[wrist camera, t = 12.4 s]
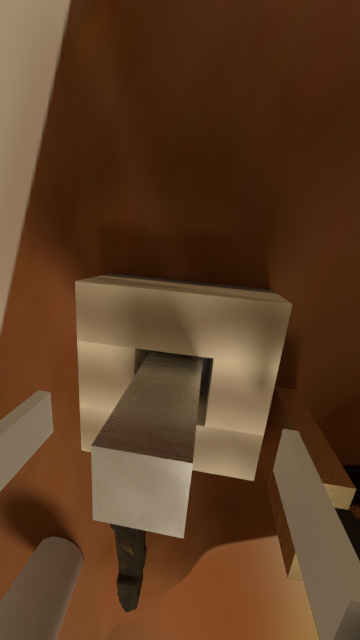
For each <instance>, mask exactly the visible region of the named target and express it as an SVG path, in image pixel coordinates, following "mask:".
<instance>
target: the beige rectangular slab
mask: <svg viewBox="0 0 360 640" xmlns="http://www.w3.org/2000/svg"><path fill="white" fill-rule="evenodd" d="M283 429H288V430H294V431H298V432H299V434H300V436H301V438H302V441H303V443H304V445H305V447H306V449H307V451H308V453H309V455H310V457H311V460H312V462H313V464H314V466H315V468H316V470H317V472H318V474H319V476H320V479H321V481H322V483H323V485H324V487H325V489H326V491H327V493H328V495H329V498H330V500H331V502H332V504H333V506H334V507H335V508H340V509H346V510H349V507H350V504H351V502H352V499H353V496H354V494H355V491H356V488H355V486H354V484H353V483H352V481H351V479H350V478H349V476H348V474H347V473H346V471H345V469H344V468H343V466H342V464H341V463H340V461H339V460H338V458H337V456H336V455H335V453H334V451H333V450H332V448H331V446H330V445H329V443H328V441H327V440H326V438H325V436H324V435H323V433H322V431H321V430H320V428H319V426H318V425H317V423H316V421H315V420H314V418H313V416H312V415H311V413H310V411H309V410H308V408H307V406H306V405H305V403H304V401H303V400H302V398H301V396H300V395H299V393H298V391H297V390H296V389H291V388H284V387H277V386H274V391H273V395H272V400H271V405H270V409H269V414H268V418H267V423H266V427H265V432H264V437H263V441H262V446H261V450H260V460H261V464H262V468H263V473H264V477H265V481H266V486H267V490H268V494H269V499H270V503H271V508H272V512H273V516H274V521H275V525H276V529H277V534H278V538H279V542H280V547H281V551H282V555H283V559H284V564H285V568H286V573H287V577H288V578H291V579H296V580H300V581H303V577H302V573H301V570H300V566H299V563H298V559H297V555H296V552H295V548H294V544H293V541H292V537H291V533H290V530H289V526H288V522H287V519H286V515H285V512H284V508H283V504H282V501H281V497H280V493H279V490H278V486H277V482H276V479H275V475H274V471H273V468H274V464H275V460H276V456H277V452H278V447H279V443H280V439H281V435H282V431H283Z"/></svg>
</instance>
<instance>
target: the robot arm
mask: <svg viewBox="0 0 360 640" xmlns="http://www.w3.org/2000/svg"><path fill="white" fill-rule="evenodd" d="M52 433H53V420H52V407H51V393H50V392H45V391H37V392H36V393H34V394H33V395H32V396H31V397H29V398H28V399H27V400H26V401H24V402H23V403H22V404H21V405H19V406H18V407H17V408H16V409H14V410H13V411H12V412H10V413H9V414H8V415H7V416H5V417H4V418H3V419H2V420H0V491H1V490H2V489H3V488H4V487H5V486H6V484H7V483H8V482H9V481H10V480H11V479H12V478H13V477H14V475H15V474H16V473H17V472H18V471H19V470H20V469H21V468H22V466H23V465H24V464H25V463H26V462H27V461H28V460H29V459H30V457H31V456H32V455H33V454H34V453H35V452H36V451H37V450H38V448H39V447H40V446H41V445H42V444H43V443H44V442H45V441H46V439H47V438H48V437H49V436H50V435H51V434H52ZM273 471H274V475H275V479H276V482H277V486H278V490H279V493H280V497H281V501H282V504H283V508H284V512H285V515H286V519H287V522H288V526H289V530H290V533H291V537H292V541H293V544H294V548H295V552H296V555H297V559H298V563H299V566H300V570H301V573H302V577H303V581H304V584H305V588H306V591H307V595H308V599H309V603H310V606H311V610H312V614H313V617H314V621H315V624H316V628H317V632H318V635H319V639H320V640H360V522H359V521H358V519H357V518H356V517H355V516H354V515H353V514H352V513H351V511H350V510H346V509H340V508H335V507H334V506H333V504H332V502H331V500H330V498H329V495H328V493H327V491H326V489H325V487H324V485H323V483H322V481H321V479H320V476H319V474H318V472H317V470H316V468H315V466H314V464H313V462H312V460H311V457H310V455H309V453H308V451H307V449H306V447H305V445H304V443H303V441H302V438H301V436H300V434H299V432H298V431H294V430H288V429H283V431H282V435H281V439H280V443H279V447H278V452H277V456H276V460H275V464H274V468H273Z"/></svg>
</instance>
